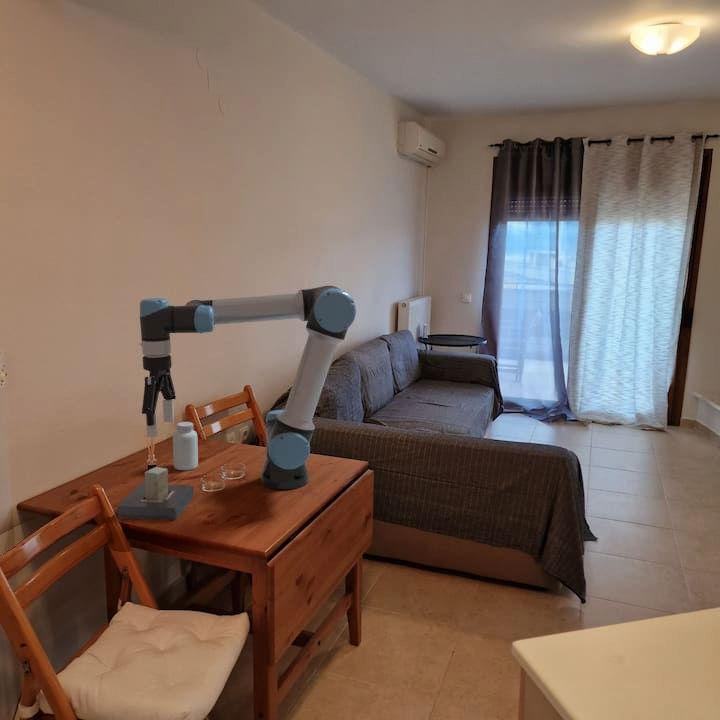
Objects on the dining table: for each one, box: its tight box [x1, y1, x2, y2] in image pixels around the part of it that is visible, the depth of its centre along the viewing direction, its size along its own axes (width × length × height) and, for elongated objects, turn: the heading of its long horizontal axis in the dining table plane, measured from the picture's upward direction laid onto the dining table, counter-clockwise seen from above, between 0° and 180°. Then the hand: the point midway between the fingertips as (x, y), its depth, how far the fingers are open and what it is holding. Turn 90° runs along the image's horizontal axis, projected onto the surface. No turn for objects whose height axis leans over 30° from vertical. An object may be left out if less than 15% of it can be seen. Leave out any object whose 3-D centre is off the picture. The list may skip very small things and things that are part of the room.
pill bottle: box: [172, 421, 199, 471], centre depth 208 cm, size 8×8×15 cm
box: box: [144, 466, 169, 501], centre depth 177 cm, size 5×4×11 cm
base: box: [117, 483, 195, 521], centre depth 178 cm, size 16×16×4 cm
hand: (161, 428), depth 175 cm, fingers open, 13 cm apart
